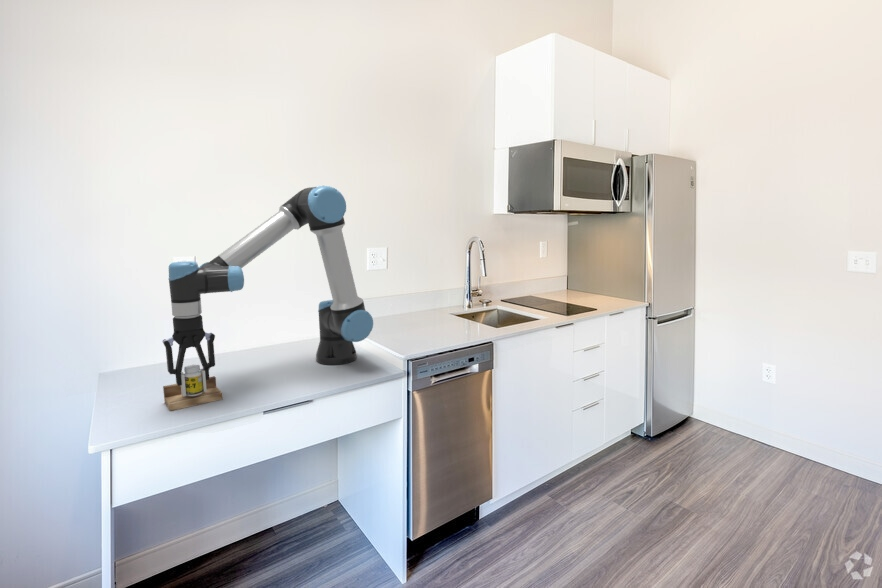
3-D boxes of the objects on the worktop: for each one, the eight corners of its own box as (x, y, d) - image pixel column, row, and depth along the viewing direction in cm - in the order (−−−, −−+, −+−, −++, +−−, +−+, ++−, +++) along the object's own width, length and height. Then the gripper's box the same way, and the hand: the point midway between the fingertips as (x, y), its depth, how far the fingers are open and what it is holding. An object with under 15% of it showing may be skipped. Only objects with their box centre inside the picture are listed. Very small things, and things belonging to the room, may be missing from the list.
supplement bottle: (181, 396, 138) (179, 368, 137) (191, 390, 143) (188, 363, 141) (197, 396, 138) (195, 369, 136) (206, 391, 142) (204, 364, 141)
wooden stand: (215, 391, 148) (214, 376, 148) (222, 399, 142) (221, 383, 142) (164, 402, 140) (163, 386, 139) (169, 411, 134) (168, 394, 133)
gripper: (217, 309, 145) (222, 382, 148) (149, 317, 134) (157, 396, 137) (223, 313, 139) (229, 389, 143) (153, 322, 128) (162, 404, 132)
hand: (194, 392), depth 140 cm, fingers closed on supplement bottle, 5 cm apart
